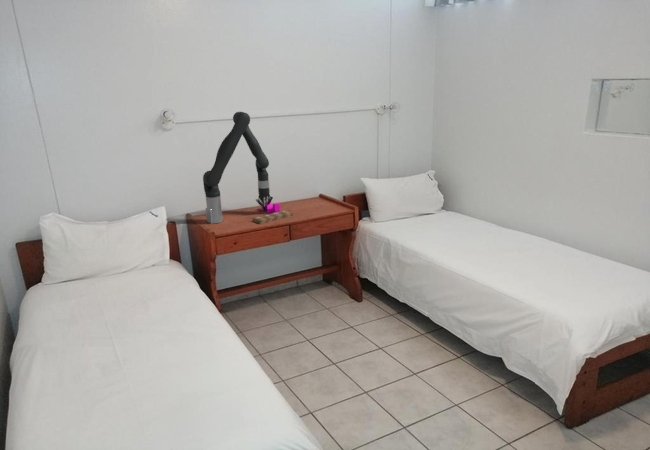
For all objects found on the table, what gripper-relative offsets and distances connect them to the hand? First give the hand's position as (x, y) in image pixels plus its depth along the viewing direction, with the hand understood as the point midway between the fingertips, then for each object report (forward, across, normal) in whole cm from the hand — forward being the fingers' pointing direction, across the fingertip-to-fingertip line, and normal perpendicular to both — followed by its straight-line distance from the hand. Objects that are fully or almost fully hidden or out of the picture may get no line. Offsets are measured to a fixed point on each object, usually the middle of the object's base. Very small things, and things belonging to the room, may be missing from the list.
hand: (265, 211), depth 321 cm
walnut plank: (+2, -3, -13) cm, 13 cm away
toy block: (+2, +5, +1) cm, 5 cm away
